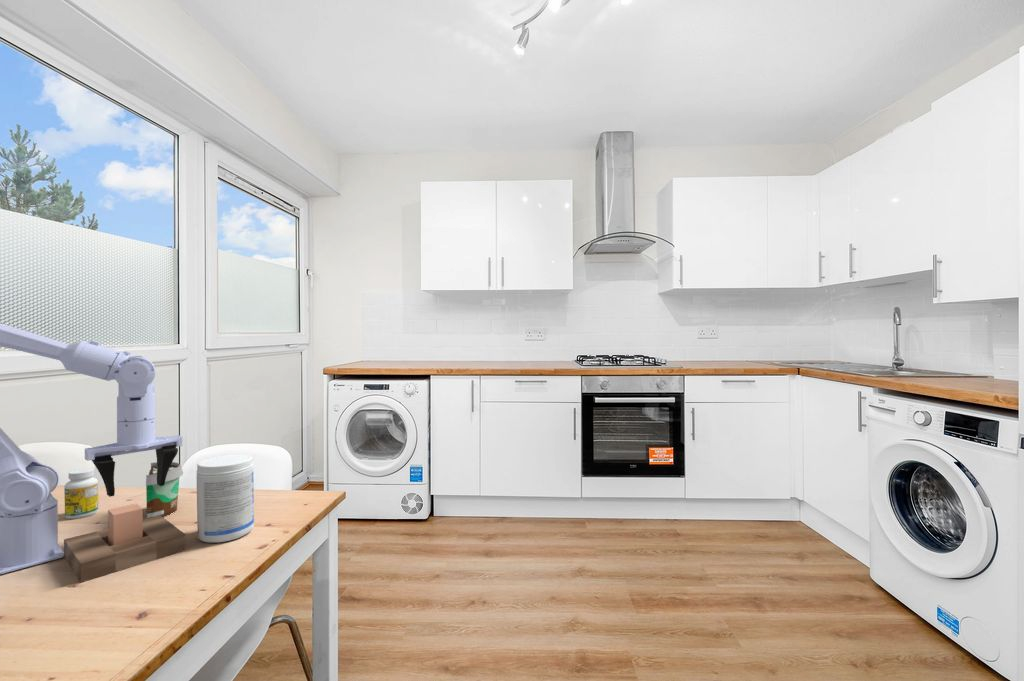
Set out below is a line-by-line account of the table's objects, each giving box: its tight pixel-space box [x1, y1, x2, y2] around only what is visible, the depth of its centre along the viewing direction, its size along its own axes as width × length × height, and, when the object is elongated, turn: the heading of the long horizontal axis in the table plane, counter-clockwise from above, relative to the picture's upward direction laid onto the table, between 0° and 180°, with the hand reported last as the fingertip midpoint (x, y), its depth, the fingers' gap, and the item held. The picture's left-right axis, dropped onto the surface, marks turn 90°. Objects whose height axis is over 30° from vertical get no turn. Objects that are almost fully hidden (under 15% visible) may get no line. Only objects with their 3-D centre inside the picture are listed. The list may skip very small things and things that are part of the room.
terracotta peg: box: [107, 503, 144, 546], centre depth 82 cm, size 4×4×8 cm
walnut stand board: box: [63, 515, 186, 583], centre depth 82 cm, size 14×14×3 cm
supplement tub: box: [196, 454, 255, 544], centre depth 91 cm, size 10×10×15 cm
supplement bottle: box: [63, 468, 99, 520], centre depth 100 cm, size 5×5×10 cm
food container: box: [145, 461, 184, 519], centre depth 102 cm, size 12×6×10 cm, turn 34°
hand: (136, 489), depth 88 cm, fingers open, 7 cm apart
